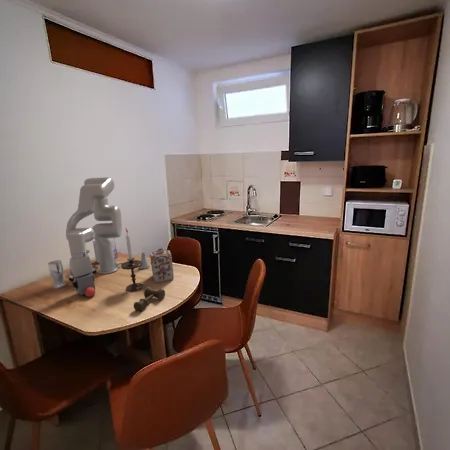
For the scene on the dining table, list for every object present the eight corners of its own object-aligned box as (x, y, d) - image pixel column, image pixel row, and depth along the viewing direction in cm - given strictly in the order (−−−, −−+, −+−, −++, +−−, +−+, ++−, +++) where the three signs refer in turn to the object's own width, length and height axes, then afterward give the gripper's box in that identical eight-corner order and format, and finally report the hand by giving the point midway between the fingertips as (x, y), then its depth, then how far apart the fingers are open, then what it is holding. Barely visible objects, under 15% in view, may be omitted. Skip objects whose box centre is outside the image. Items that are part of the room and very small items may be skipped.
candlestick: (120, 289, 152) (111, 228, 144) (137, 282, 161) (129, 224, 152) (132, 294, 146) (123, 231, 138) (148, 286, 154) (141, 226, 146)
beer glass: (60, 289, 156) (55, 264, 152) (49, 288, 157) (44, 264, 154) (69, 283, 163) (64, 260, 159) (59, 283, 164) (54, 259, 161)
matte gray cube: (90, 285, 155) (87, 271, 153) (95, 289, 150) (92, 274, 148) (75, 290, 150) (72, 275, 148) (80, 295, 144) (77, 279, 142)
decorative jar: (171, 272, 172) (168, 245, 168) (174, 279, 162) (171, 250, 157) (152, 275, 169) (148, 247, 165) (153, 283, 158) (150, 253, 154)
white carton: (113, 256, 207) (110, 235, 203) (118, 257, 203) (114, 236, 199) (96, 262, 196) (92, 240, 192) (100, 264, 192) (96, 241, 188)
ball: (93, 293, 149) (92, 284, 148) (97, 295, 146) (96, 287, 145) (84, 296, 146) (82, 288, 145) (87, 299, 143) (86, 290, 141)
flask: (140, 265, 186) (138, 251, 184) (151, 264, 187) (149, 250, 184) (138, 269, 179) (136, 255, 177) (149, 269, 180) (147, 254, 177)
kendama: (129, 311, 131) (155, 291, 148) (146, 315, 127) (170, 294, 145) (128, 300, 129) (153, 281, 147) (144, 304, 126) (169, 284, 143)
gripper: (93, 249, 154) (98, 278, 158) (58, 257, 142) (64, 289, 146) (98, 251, 148) (103, 281, 153) (63, 261, 136) (69, 293, 141)
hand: (84, 285), depth 149 cm, fingers closed on matte gray cube, 7 cm apart
